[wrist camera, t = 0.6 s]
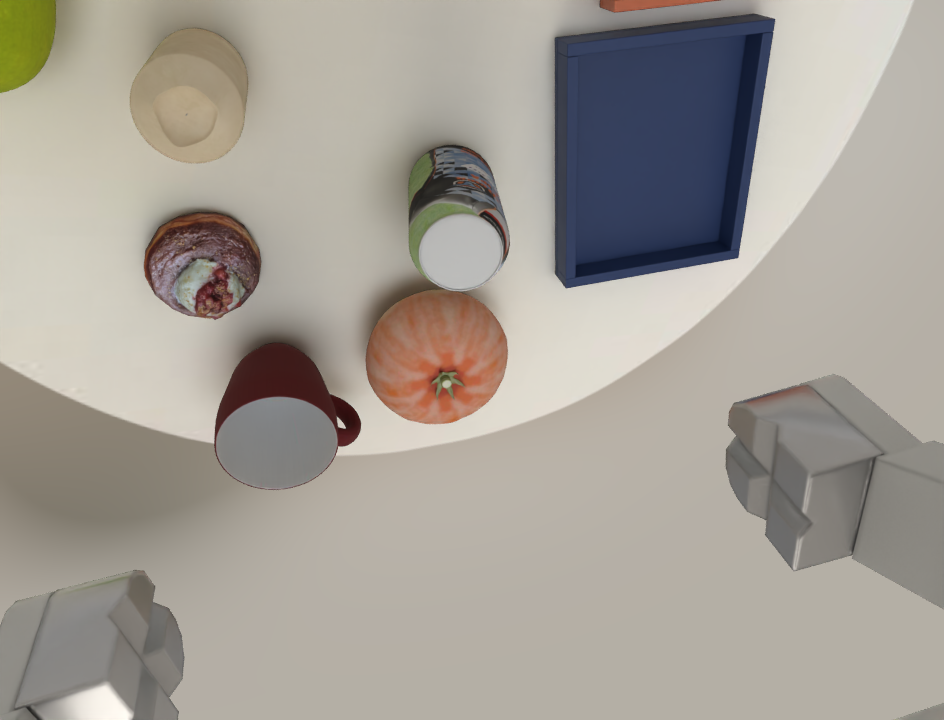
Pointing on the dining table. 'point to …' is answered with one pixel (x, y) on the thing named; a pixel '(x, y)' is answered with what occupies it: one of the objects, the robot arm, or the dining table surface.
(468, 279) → the beverage can
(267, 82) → the dining table surface
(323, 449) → the mug
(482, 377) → the orange pumpkin
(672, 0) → the terracotta tray
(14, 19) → the fruit
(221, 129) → the candle
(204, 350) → the dining table surface
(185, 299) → the pastry
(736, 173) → the navy tray
